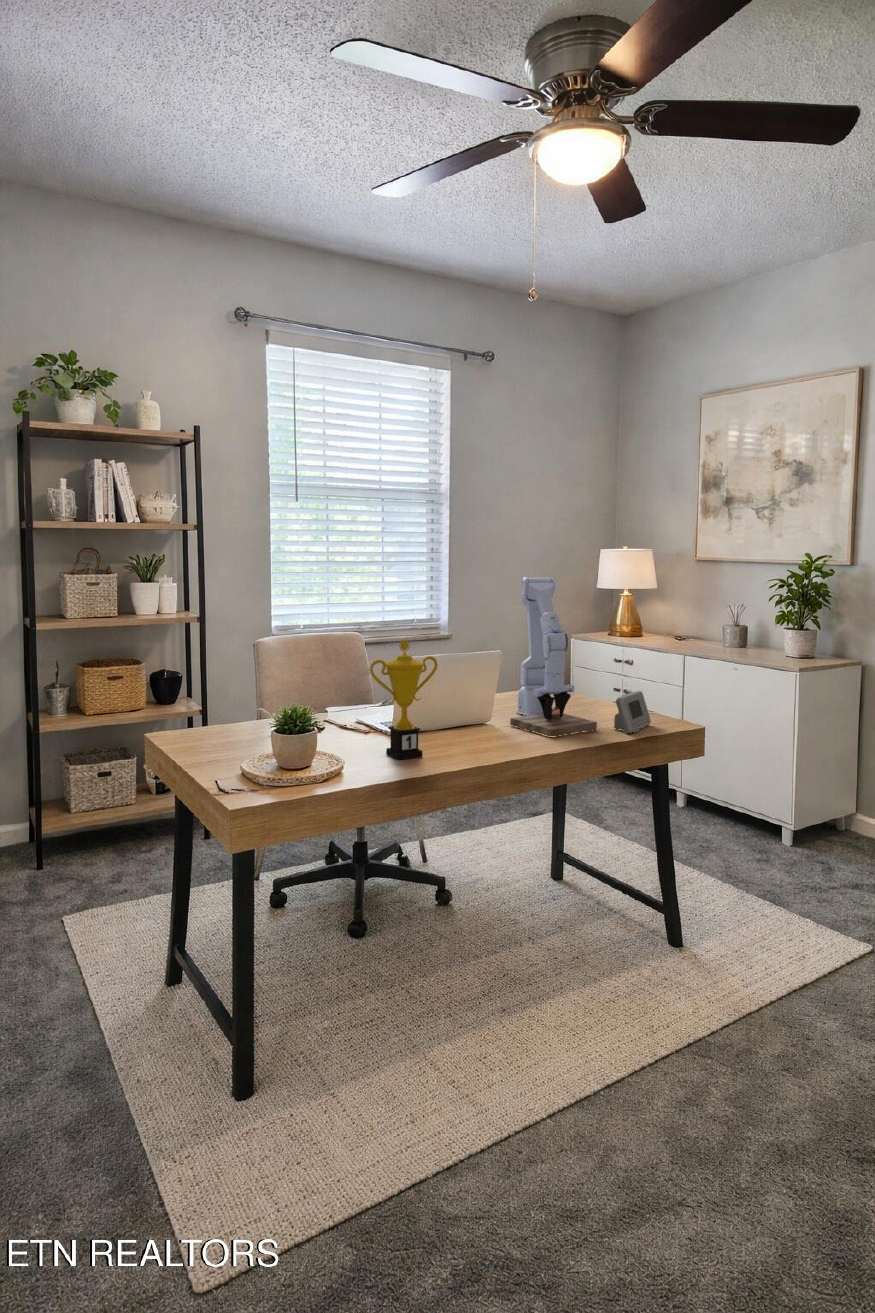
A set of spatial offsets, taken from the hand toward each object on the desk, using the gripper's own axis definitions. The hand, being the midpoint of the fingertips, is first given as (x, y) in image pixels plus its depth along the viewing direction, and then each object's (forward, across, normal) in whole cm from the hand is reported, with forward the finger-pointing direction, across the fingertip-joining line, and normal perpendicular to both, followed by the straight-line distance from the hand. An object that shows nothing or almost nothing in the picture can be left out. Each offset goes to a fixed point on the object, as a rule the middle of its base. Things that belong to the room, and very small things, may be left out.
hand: (553, 717), depth 239 cm
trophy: (+3, -54, -3) cm, 54 cm away
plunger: (+3, 0, 0) cm, 3 cm away
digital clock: (+3, +20, -13) cm, 24 cm away
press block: (+3, 0, 0) cm, 3 cm away
